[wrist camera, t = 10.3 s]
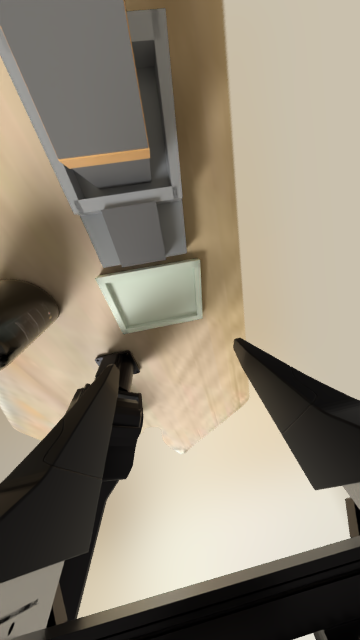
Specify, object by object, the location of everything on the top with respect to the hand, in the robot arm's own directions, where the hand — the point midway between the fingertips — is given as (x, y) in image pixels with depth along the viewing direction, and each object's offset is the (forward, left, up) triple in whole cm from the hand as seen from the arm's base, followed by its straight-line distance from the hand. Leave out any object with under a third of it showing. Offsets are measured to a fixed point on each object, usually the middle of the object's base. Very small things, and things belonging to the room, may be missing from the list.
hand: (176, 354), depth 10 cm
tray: (-1, +2, -12) cm, 12 cm away
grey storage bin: (+11, +2, -12) cm, 17 cm away
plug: (+13, +2, -10) cm, 17 cm away
